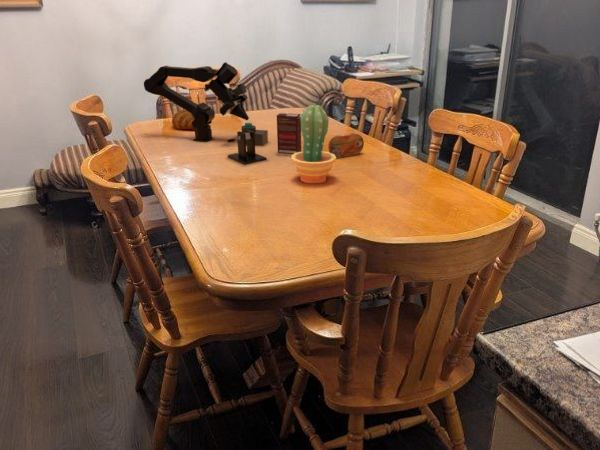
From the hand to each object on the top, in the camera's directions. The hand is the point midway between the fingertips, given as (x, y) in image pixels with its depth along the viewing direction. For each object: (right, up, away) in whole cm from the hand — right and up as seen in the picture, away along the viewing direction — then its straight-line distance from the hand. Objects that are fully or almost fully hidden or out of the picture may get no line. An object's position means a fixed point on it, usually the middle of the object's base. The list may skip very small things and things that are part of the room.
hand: (248, 119), depth 220 cm
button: (0, -3, +1) cm, 3 cm away
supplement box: (+18, -16, -12) cm, 27 cm away
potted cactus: (+26, -29, -39) cm, 55 cm away
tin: (+40, -17, -14) cm, 45 cm away
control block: (+2, -10, +3) cm, 10 cm away
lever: (-1, -12, -18) cm, 22 cm away
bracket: (+1, -19, -18) cm, 26 cm away
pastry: (-33, +6, +29) cm, 44 cm away
